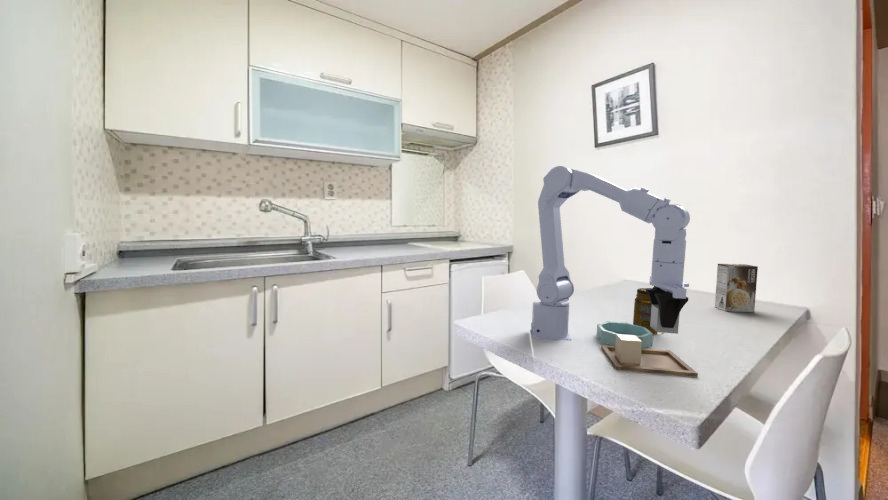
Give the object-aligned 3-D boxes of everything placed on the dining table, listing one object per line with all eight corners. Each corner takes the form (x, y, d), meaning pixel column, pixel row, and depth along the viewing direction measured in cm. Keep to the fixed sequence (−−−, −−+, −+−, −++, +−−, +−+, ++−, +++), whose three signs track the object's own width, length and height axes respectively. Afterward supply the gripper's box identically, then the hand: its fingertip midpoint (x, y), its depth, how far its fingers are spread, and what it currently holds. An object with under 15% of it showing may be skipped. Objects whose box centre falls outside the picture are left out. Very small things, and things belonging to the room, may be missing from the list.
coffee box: (742, 308, 124) (746, 264, 122) (754, 312, 117) (759, 266, 116) (713, 306, 125) (717, 263, 124) (724, 311, 119) (728, 265, 117)
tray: (615, 371, 70) (615, 366, 70) (600, 350, 82) (601, 345, 82) (697, 379, 68) (697, 373, 67) (670, 355, 79) (670, 350, 79)
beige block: (620, 362, 74) (621, 339, 73) (614, 355, 78) (616, 333, 77) (640, 364, 73) (641, 341, 73) (633, 356, 77) (635, 335, 77)
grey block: (656, 331, 73) (658, 308, 72) (650, 326, 76) (651, 304, 76) (677, 333, 72) (679, 310, 71) (670, 327, 75) (672, 305, 75)
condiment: (664, 333, 95) (667, 290, 94) (648, 338, 91) (651, 294, 89) (637, 326, 101) (639, 286, 100) (621, 331, 97) (624, 289, 95)
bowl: (604, 348, 83) (605, 334, 83) (593, 332, 94) (594, 320, 94) (657, 352, 81) (658, 338, 81) (639, 336, 92) (640, 323, 92)
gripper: (706, 267, 65) (700, 337, 66) (675, 258, 79) (671, 316, 80) (664, 265, 66) (659, 333, 68) (641, 257, 80) (637, 313, 82)
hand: (663, 324), depth 74 cm, fingers closed on grey block, 4 cm apart
